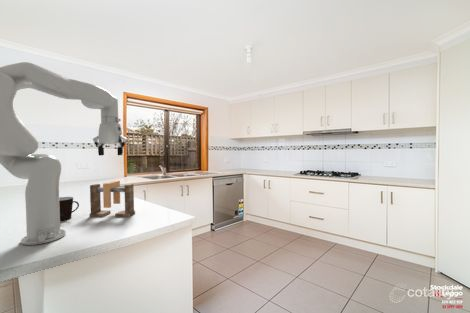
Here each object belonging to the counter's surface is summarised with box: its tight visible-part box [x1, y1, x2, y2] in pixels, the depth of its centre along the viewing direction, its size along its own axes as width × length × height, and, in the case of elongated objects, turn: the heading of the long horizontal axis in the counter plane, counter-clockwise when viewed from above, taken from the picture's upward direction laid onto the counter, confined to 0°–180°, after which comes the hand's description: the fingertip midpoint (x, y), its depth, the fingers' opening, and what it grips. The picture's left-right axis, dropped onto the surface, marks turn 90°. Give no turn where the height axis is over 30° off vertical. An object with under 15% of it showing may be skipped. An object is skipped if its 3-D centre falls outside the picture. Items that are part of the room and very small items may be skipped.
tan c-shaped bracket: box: [102, 180, 121, 209], centre depth 111 cm, size 3×9×12 cm, turn 176°
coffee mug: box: [59, 196, 80, 222], centre depth 105 cm, size 12×9×10 cm
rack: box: [88, 183, 136, 218], centre depth 112 cm, size 20×6×16 cm, turn 88°
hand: (110, 155), depth 111 cm, fingers open, 9 cm apart
